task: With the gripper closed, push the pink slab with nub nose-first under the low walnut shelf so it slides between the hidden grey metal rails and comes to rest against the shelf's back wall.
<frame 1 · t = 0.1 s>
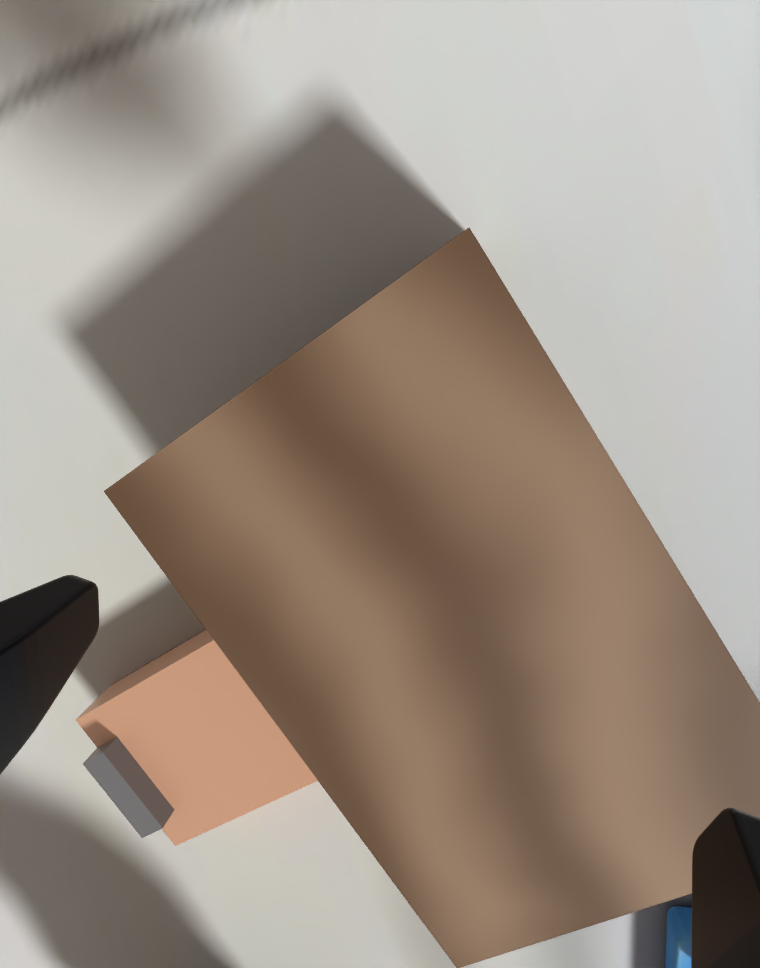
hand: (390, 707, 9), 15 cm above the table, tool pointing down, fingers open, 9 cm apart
low shelf: (472, 577, 25), on the table
pink slab with nub: (254, 693, 28), on the table
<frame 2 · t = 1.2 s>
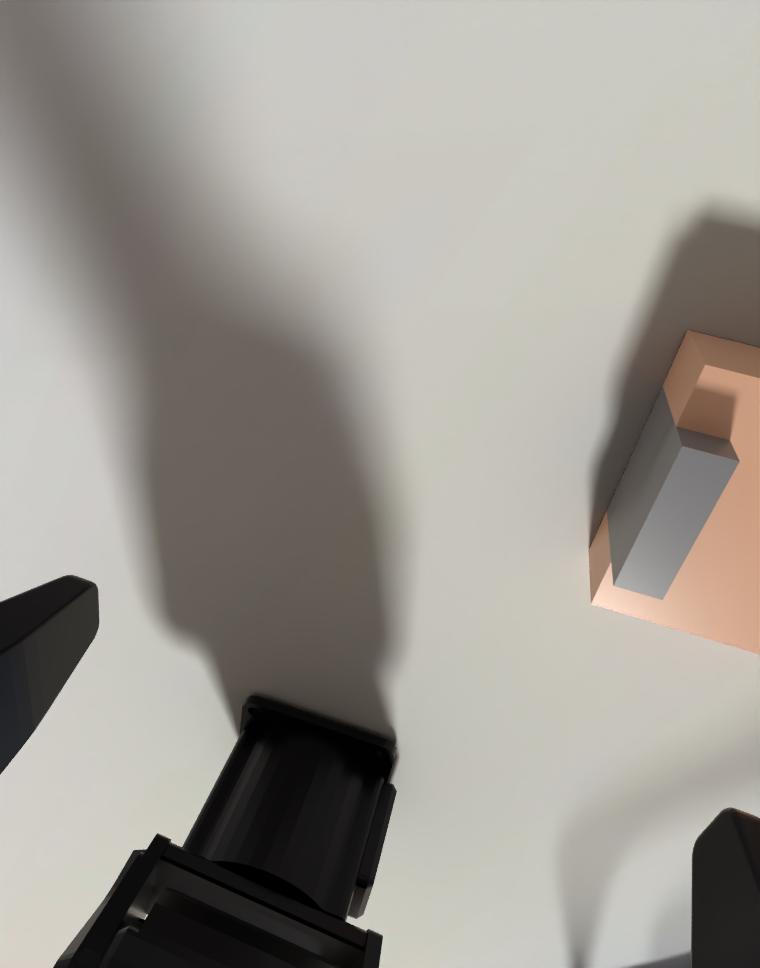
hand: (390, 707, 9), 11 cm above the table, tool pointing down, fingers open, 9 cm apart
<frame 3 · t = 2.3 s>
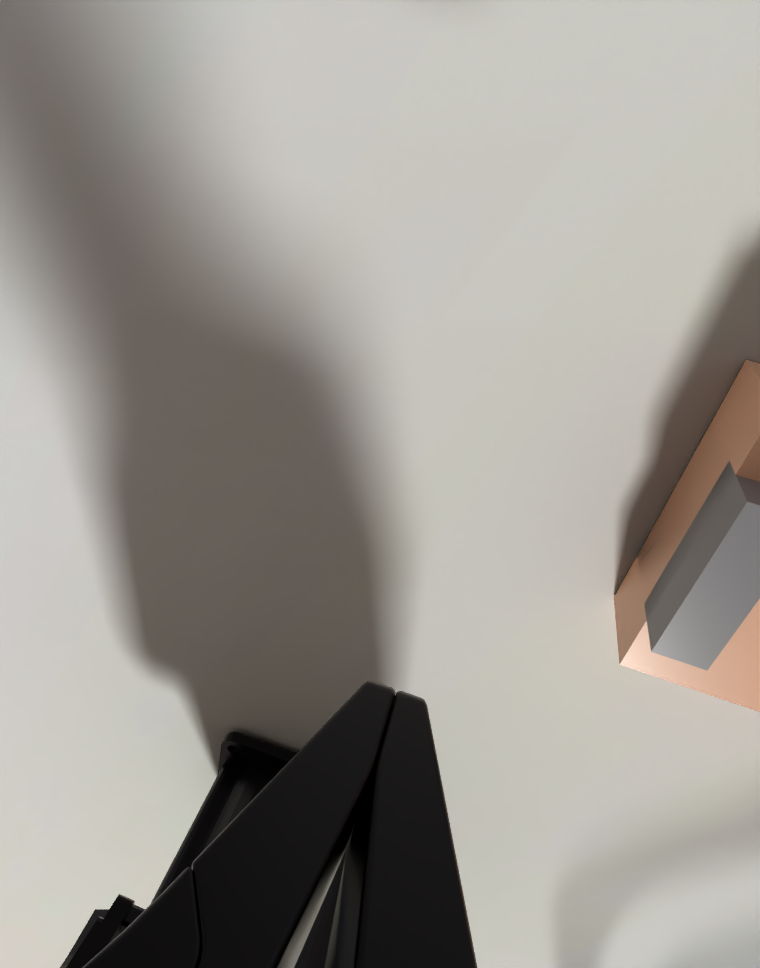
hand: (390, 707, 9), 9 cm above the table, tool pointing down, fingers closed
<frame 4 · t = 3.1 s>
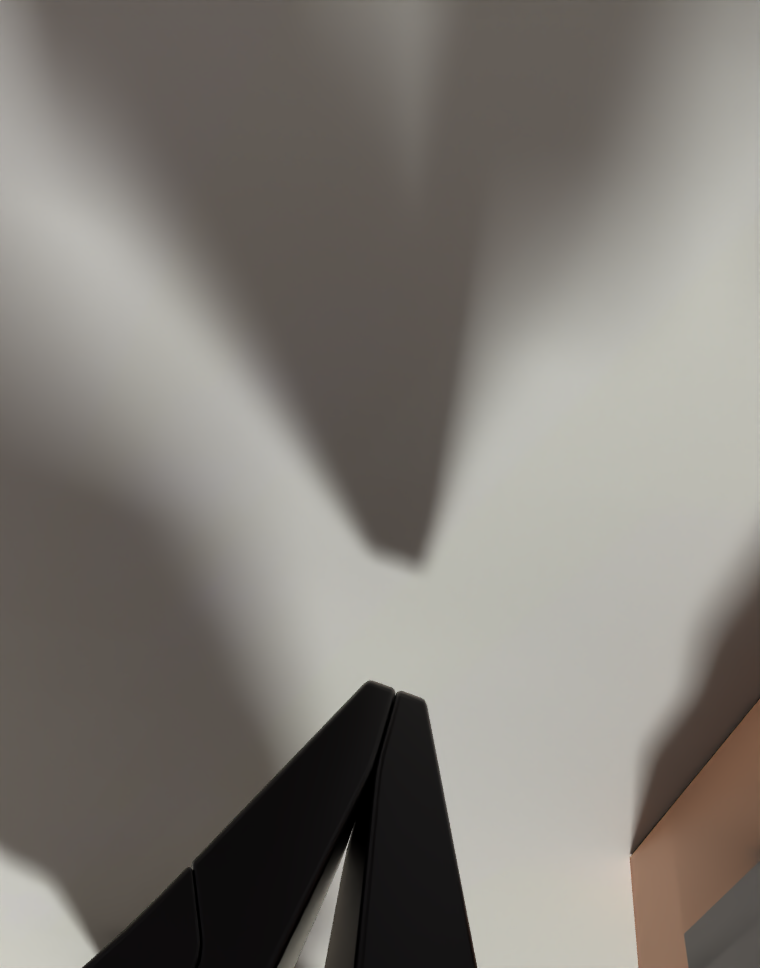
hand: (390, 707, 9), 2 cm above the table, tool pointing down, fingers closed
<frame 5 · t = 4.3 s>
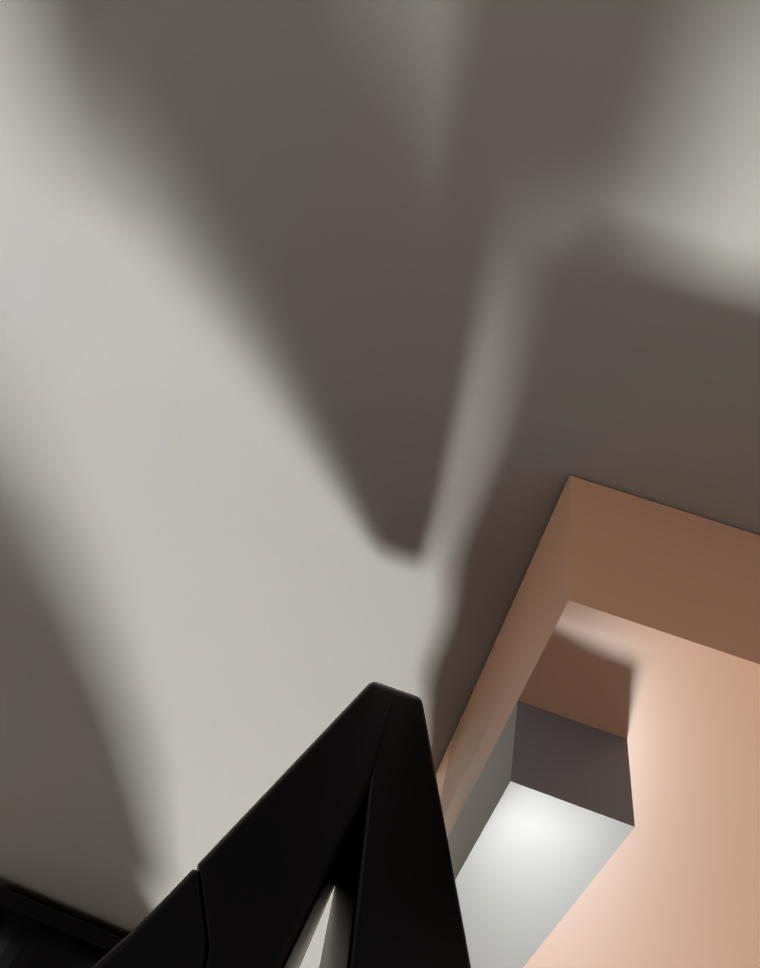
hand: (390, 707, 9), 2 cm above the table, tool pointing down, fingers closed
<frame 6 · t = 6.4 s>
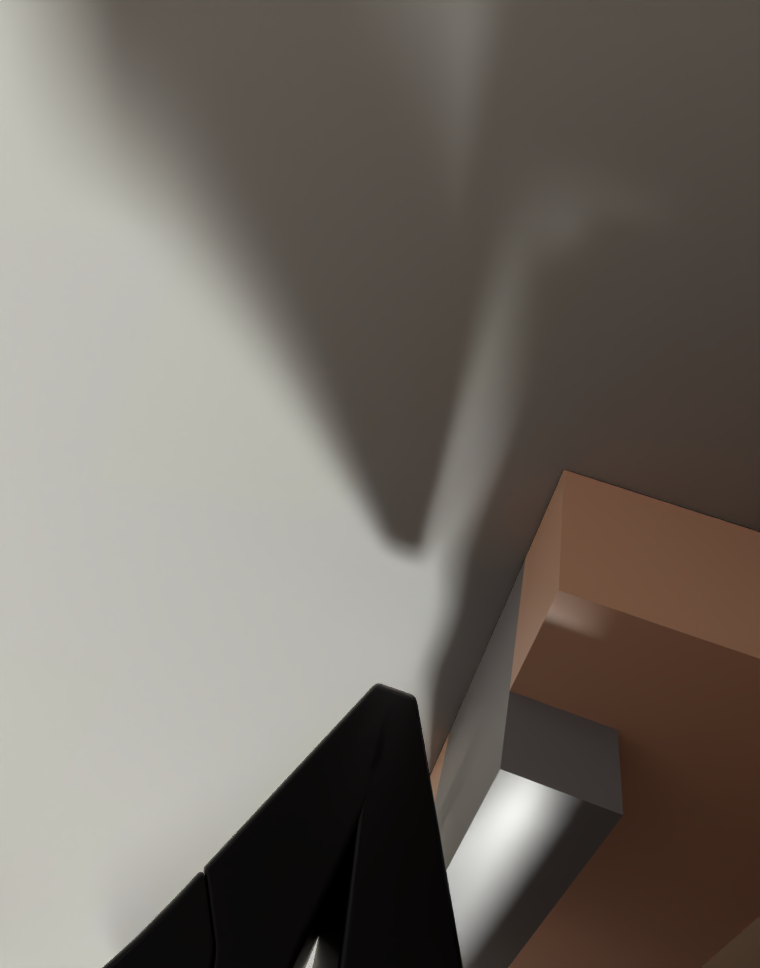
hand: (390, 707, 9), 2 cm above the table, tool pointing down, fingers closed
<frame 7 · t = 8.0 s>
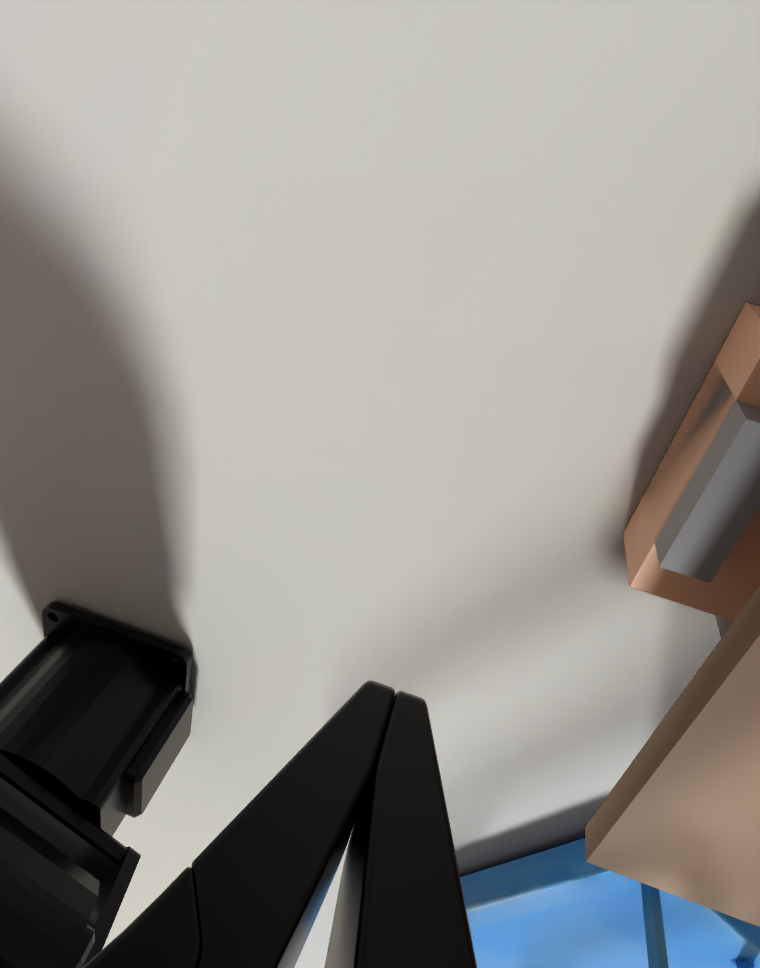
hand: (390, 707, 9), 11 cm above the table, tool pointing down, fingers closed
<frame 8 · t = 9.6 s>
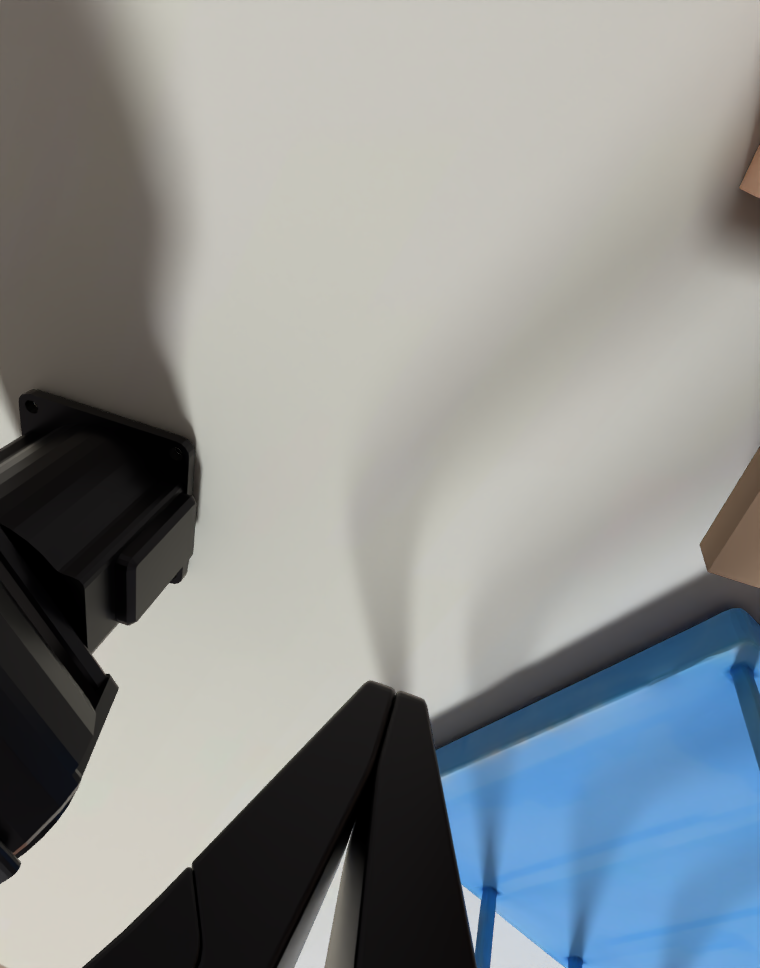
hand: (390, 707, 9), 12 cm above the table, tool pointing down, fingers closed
file sorter: (723, 874, 28), on the table
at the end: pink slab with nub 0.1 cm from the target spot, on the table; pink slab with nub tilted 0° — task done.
